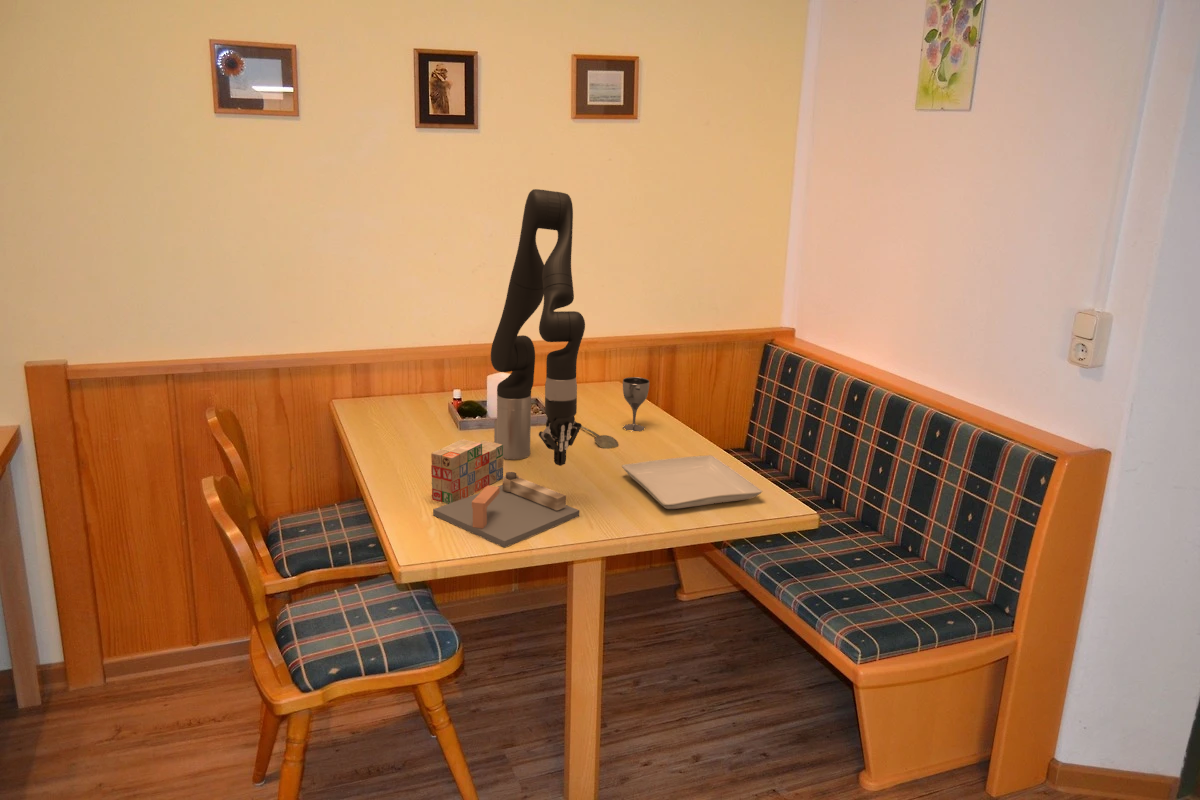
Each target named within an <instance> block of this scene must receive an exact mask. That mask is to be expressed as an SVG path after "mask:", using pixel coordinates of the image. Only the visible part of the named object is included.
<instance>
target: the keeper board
mask: <svg viewBox="0 0 1200 800" xmlns="http://www.w3.org/2000/svg"><path fill="white" fill-rule="evenodd" d="M432 515H433V516H434V517H436V518H439V519H441V520H442V521H444V522H447V523H449V524H452V525H453V526H455V527H458V528H460V529H462V530H464V531H467V532H470V533H471V534H473V535H475V536H478V537H479V538H480V537H481V538H483V539H484V540H487V541H489V542H491V543H493V544H495V545H498V546H500V547H502V548H508V547H509V546H512V545H514V544H517V543H519V542H521V541H523V540H526V539H528V538H531V537H532V536H536V535H537V534H540V533H542V532H544V531H547V530H550V529H552V528H554V527H558V526H559V525H561V524H564V523H567V522H569V521H571V520H574V519H576V518H578V517H580V509H577V508H575V507H572V506H570V505H567V504H566V507H565V508H562V509H560V510H554V509H551V508H549V507H546V506H544V505H541V504H539V503H536V502H534V501H531V500H529V499H526V498H524V497H521V496H519V495H516V494H514V493H511V492H506V491H504V490H503V484H501V485H498V486H496V485H488V486H486V487H485V488H483V489H481V490H480V492H477V493H475V494H473V495H471V496H469V497H466V498H464V499H461V500H458V501H455V502H452V503H449V504H447V503H446V504H444V505H441V506H438V507H435V508H433V509H432Z"/></svg>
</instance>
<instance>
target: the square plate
mask: <svg viewBox="0 0 1200 800" xmlns="http://www.w3.org/2000/svg"><path fill="white" fill-rule="evenodd" d="M621 467H622V468H621V469H623V470H624V471H625V472H626V474H627V475H628V476H629V477H631V479H633V481H635V482H636V483H637V484H639V485H640V486H641V487H642V488H643V489H644V490H645V491H647V493H648V494H649V495H651V497H652V498H653V499H654V500H655V501H656V502H658V504H660V506H661V507H663V508H665V510H666V509H667V510H676V509H677V510H678V509H684V508H691V507H698V506H707V505H715V504H721V503H722V502H723V503H729V502H736V501H744V500H745V501H746V500H750V499H753V498H755V497H757V496H759V495H761V493H763V490H762V489H761V488H759V487H758V486H757V485H755V484H754V483H753V482H751V481H750V480H748V479H747V478H746V477H744V476H743V475H741V474H740V473H739V472H737V471H736V470H735V469H733V468H731V466H729V465H727V464H725V463H724V462H723V461H721V459H719V458H716V457H715V456H714V455H710V454H709V455H697V456H684V457H673V458H665V459H655V460H647V461H641V462H635V463H634V462H632V463H626V464H621ZM714 503H715V504H714Z"/></svg>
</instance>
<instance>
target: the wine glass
mask: <svg viewBox="0 0 1200 800" xmlns="http://www.w3.org/2000/svg"><path fill="white" fill-rule="evenodd" d="M649 389H650V380H649V379H647V378H644V377H638V376H631V377H629V376H628V377H624V378H623V379H622V393H623V398H624V399H625V401H626V403H627V404H628V405H629V406H630V408H631V411H632V423H628V425H627V424H625V426H624V425H623V426H624V427H623V428H625V429H626V430H625V431H627V430H632V431H639V432H643V431H645V430H644V428H645V429H646V427H645V426H644V425H642V424H638V425H637V422H636V417H637V411H638V409H639V408H640V406H641V405H642V404H643V403H644V402H645V401H646V399H647V398H648V394H649ZM641 425H642V426H641ZM623 428H622V429H623ZM642 430H643V431H642ZM632 431H631V432H632Z"/></svg>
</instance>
